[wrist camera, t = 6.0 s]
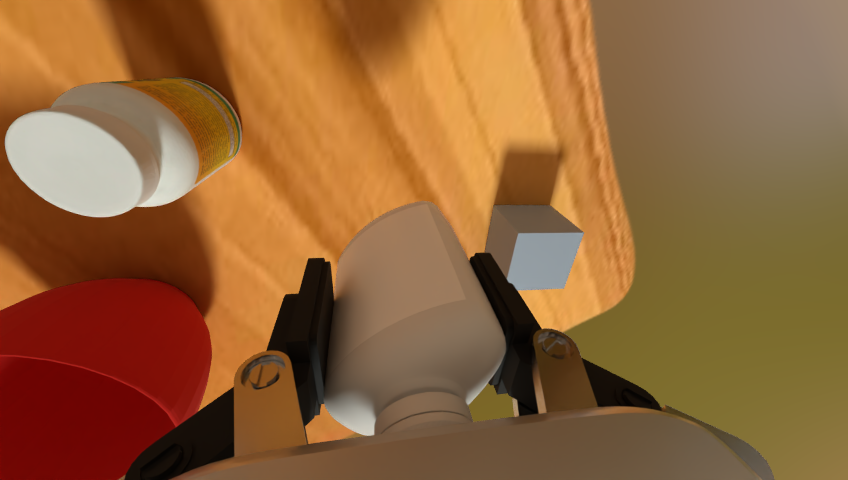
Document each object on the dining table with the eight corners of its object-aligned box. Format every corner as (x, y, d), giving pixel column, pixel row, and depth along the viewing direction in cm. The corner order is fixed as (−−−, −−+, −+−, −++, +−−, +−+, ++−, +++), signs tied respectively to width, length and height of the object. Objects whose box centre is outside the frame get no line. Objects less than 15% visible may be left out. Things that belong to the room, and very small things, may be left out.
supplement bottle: (208, 182, 21) (107, 257, 13) (127, 115, 19) (-61, 158, 11) (263, 132, 20) (193, 180, 12) (186, 54, 18) (30, 49, 10)
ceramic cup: (-26, 190, 20) (-333, 292, 11) (259, 276, 26) (203, 384, 17) (-18, 333, 24) (-228, 480, 16) (220, 376, 30) (162, 500, 22)
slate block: (493, 204, 26) (518, 233, 21) (549, 204, 27) (583, 232, 22) (483, 255, 28) (504, 290, 24) (535, 254, 29) (563, 288, 25)
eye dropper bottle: (325, 210, 14) (216, 651, 4) (449, 194, 14) (655, 535, 4) (345, 287, 16) (313, 689, 6) (451, 270, 17) (589, 611, 6)
